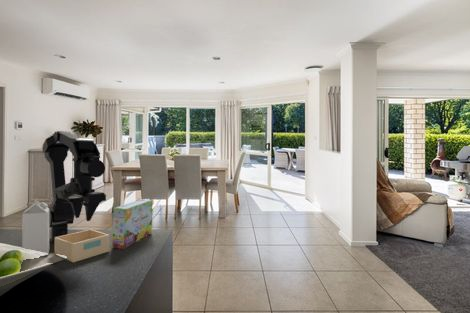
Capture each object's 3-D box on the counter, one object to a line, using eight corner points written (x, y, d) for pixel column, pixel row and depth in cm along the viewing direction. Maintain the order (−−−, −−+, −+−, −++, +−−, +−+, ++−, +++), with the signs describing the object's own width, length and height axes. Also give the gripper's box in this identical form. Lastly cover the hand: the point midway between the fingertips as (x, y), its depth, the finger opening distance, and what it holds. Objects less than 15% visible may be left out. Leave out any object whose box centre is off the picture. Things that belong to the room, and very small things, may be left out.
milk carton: (22, 259, 99) (22, 202, 99) (25, 252, 106) (25, 198, 105) (47, 256, 103) (47, 200, 102) (49, 249, 109) (49, 197, 108)
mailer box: (54, 254, 104) (54, 237, 104) (90, 244, 115) (90, 229, 115) (71, 262, 98) (71, 243, 98) (108, 251, 109) (108, 234, 109)
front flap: (72, 262, 98) (72, 243, 98) (108, 250, 109) (108, 234, 108) (73, 262, 97) (73, 244, 97) (109, 251, 108) (109, 234, 108)
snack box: (125, 249, 111) (125, 208, 110) (111, 248, 112) (111, 207, 111) (152, 233, 132) (152, 198, 131) (140, 232, 133) (141, 198, 132)
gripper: (44, 174, 104) (44, 219, 104) (74, 178, 93) (74, 229, 94) (77, 172, 113) (76, 213, 114) (107, 176, 103) (106, 221, 103)
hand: (82, 219), depth 106 cm, fingers open, 7 cm apart
